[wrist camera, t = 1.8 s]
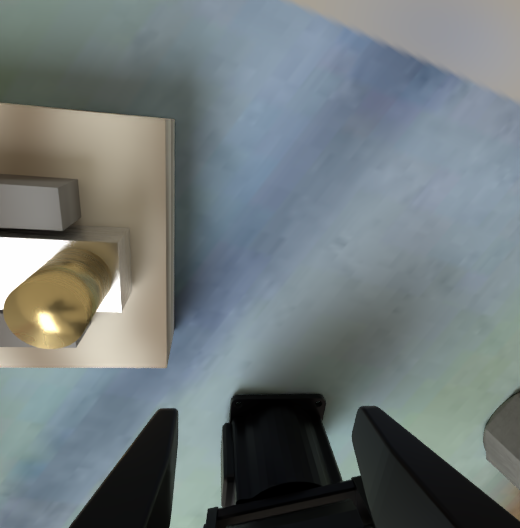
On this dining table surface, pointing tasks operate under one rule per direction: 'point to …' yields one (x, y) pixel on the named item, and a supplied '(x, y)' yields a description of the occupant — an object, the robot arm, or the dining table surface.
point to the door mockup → (96, 220)
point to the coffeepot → (505, 439)
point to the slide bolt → (62, 280)
